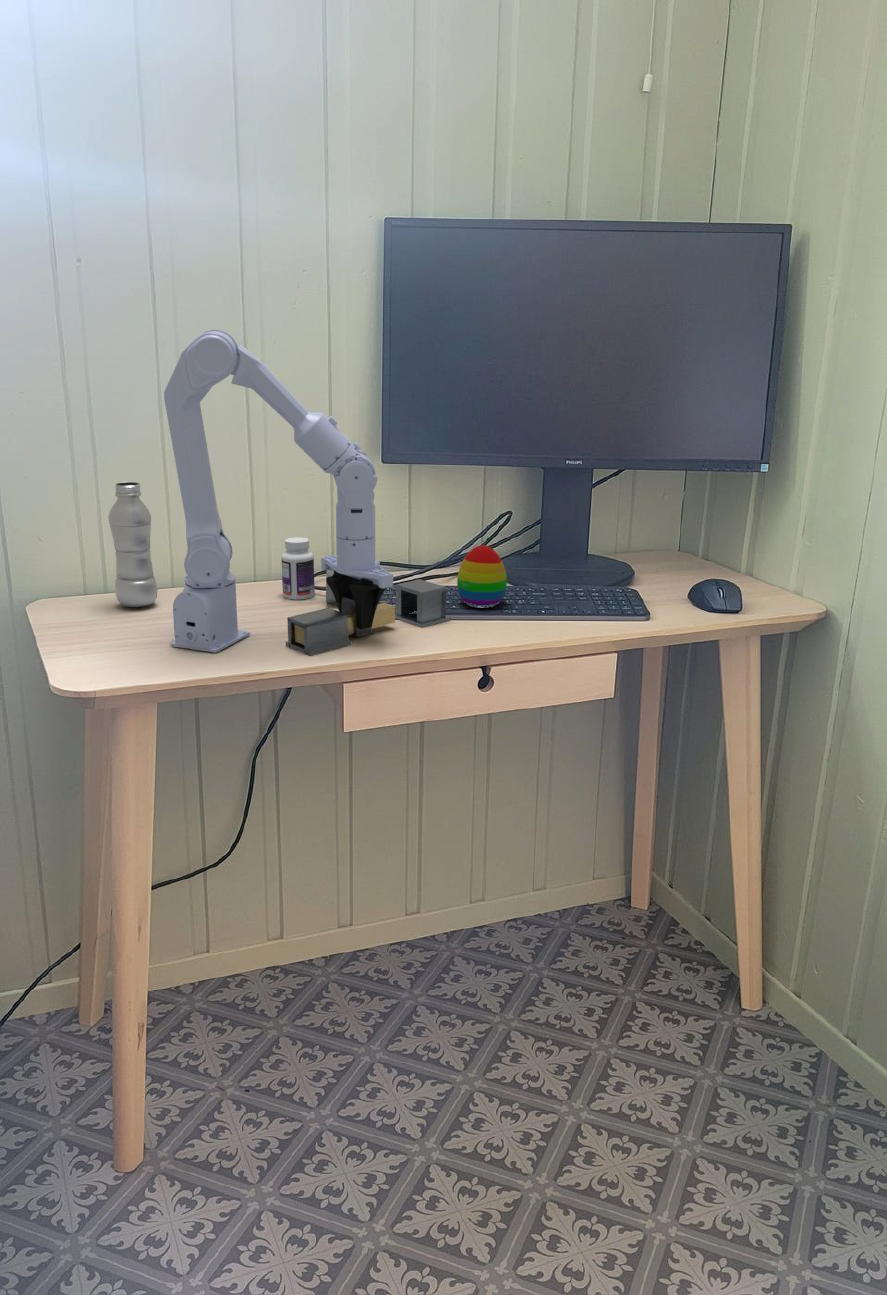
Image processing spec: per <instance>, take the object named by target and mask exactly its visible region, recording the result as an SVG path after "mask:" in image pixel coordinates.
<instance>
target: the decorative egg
mask: <svg viewBox="0 0 887 1295" xmlns="http://www.w3.org/2000/svg"><path fill="white" fill-rule="evenodd" d="M462 559H463V560H462V561H461V563H460V566H459V568H458V571H457V572H458V573H457V581H456V583H457V590H458V594H459V597H460V600H463V601H465V602H468V603H472V604H476V605H489V604H495V603H498V602H500V601H501V602H502V600H503V598H504V596H505V594H506V590H507V582H508V581H507V578H508V577H507V571H506V568H505V565H504V562H503V561H502V558H501V557H500V555H499V554H498V553H497V552H496V551H495V550H494V549H493V548H492V547H490V546H488V545H483V544H480V545H477V546H475V547H473V548H472V549H471V550H470V551H468V553H467V554H466V555H465V556H464V558H462ZM463 601H462V602H463ZM501 602H500V603H501Z"/></svg>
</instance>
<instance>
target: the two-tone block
mask: <svg viewBox="0 0 887 1295" xmlns="http://www.w3.org/2000/svg"><path fill="white" fill-rule="evenodd" d="M342 613H345V614H348V636H349V635H350V636H353V637H355V638H357V637H361V636H365V635H368V634H372V633H373V631H372V630H373V629H376V628H379V627H383V626H386V625H387V626H388V625H392V624H394V623H396V619H395V613H396V605H392V604H389V603H386V602H382V603H378V605H377V608H376V612H375V615H374V619H373V623H372V627H369V628H365V629H359V627H358V623H357V613H356V605H355V600H354V597H353V594H350V595H346V596H342ZM294 625H295V642H298V643H300V644H303V645H305V643H304V627H303V626H300V625H297V624H294Z"/></svg>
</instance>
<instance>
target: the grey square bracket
mask: <svg viewBox="0 0 887 1295" xmlns="http://www.w3.org/2000/svg"><path fill="white" fill-rule="evenodd" d="M446 607H447V586H444V585H440V584H437V583H434V582H431V581H427V580H423V579H415V580H411V581H406V582H402V583H398V584H395V613H396V614H397V615H395V620H399V621H401V622H404V623H408V624H410V625H413V626H417V627H419V628H426V627H430V626H433V625H436V624H441V623H444V622H448V621H451V616H449V615H446V614H447V613H446V612H447V608H446ZM414 611H417V614H409V613H412V612H414Z"/></svg>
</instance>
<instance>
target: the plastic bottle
mask: <svg viewBox="0 0 887 1295" xmlns="http://www.w3.org/2000/svg"><path fill="white" fill-rule="evenodd" d="M140 496H142V492H141V485H140V482H136V481H123V482H117V483H115V497H117V499H116V501H115V502H114V504H113V505H112V507H111V508H110V510H109V513H108V523H109V524H108V525H109V527H110V532H111V535H112V539H113V546H114V547H113V548H114V550H115V552H114V553H115V558H116V559H115V561H116V562H115V565H116V567H115V570H116V571H115V572H116V573H115V575H116V576H115V577H116V578H115V585H114V593H115V597H116V600H117V602H119V604H120V605H121V606H123V607H127V608H129V607H130V608H141V607H147V606H151V605H152V604H154V603H155V602H156V600H157V598H158V591H159V590H158V589H159V588H158V586H157V585H158V584H157V579H156V578H155V576H154V574H155V573H154V568H153V563H152V557H151V553H152V552H151V531H152V515H151V513H150V509H148V507H147V506H146V505H145V503H144V502H143V501H142V500H141V498H140Z"/></svg>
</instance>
